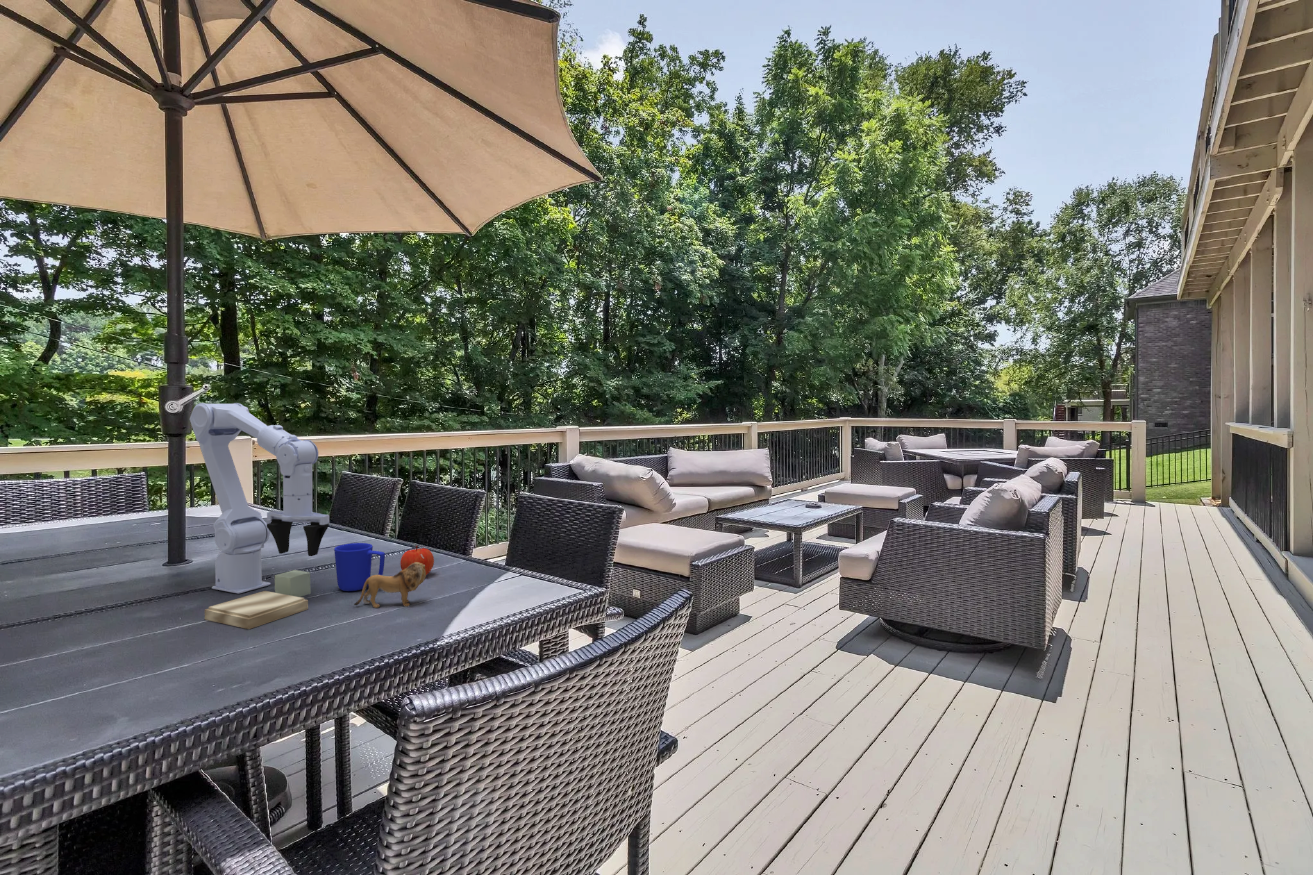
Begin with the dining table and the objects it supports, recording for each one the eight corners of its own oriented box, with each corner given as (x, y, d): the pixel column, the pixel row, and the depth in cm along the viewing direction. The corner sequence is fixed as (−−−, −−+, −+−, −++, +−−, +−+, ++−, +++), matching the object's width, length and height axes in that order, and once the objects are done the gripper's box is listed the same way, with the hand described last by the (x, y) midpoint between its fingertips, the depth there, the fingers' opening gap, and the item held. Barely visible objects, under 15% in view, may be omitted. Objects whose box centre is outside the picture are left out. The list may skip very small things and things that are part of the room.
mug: (372, 596, 145) (372, 553, 144) (326, 591, 147) (326, 549, 146) (394, 585, 153) (394, 545, 152) (350, 582, 155) (350, 541, 154)
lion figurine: (425, 597, 144) (425, 559, 144) (426, 605, 139) (426, 564, 139) (354, 604, 139) (354, 563, 138) (352, 611, 134) (352, 570, 133)
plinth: (204, 619, 128) (204, 607, 127) (265, 600, 140) (265, 589, 140) (248, 629, 123) (248, 616, 123) (308, 609, 135) (307, 597, 135)
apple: (438, 577, 161) (438, 546, 160) (406, 582, 156) (406, 550, 155) (427, 570, 167) (427, 540, 166) (395, 575, 162) (395, 544, 161)
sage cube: (275, 597, 143) (274, 575, 143) (295, 591, 147) (294, 569, 147) (290, 600, 141) (290, 578, 141) (310, 593, 146) (310, 572, 145)
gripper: (255, 494, 139) (256, 555, 140) (313, 498, 136) (313, 560, 137) (280, 490, 146) (280, 548, 147) (335, 494, 143) (335, 553, 144)
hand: (298, 553), depth 143 cm, fingers open, 7 cm apart
